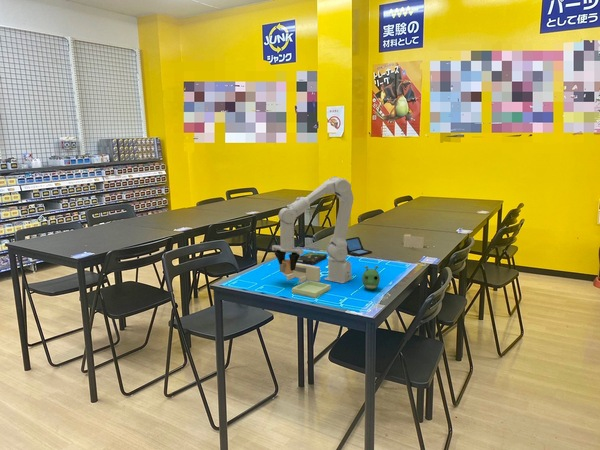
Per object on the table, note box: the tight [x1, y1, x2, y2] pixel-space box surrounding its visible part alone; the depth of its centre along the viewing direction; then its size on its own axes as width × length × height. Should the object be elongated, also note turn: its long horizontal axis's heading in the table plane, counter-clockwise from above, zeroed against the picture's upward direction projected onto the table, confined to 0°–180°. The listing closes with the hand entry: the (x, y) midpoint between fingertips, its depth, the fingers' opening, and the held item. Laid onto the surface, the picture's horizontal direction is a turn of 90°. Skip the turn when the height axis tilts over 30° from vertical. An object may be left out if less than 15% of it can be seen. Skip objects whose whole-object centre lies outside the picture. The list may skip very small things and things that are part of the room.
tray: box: [291, 280, 331, 299], centre depth 180 cm, size 11×12×2 cm
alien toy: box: [361, 265, 381, 290], centre depth 181 cm, size 7×8×10 cm
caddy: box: [279, 258, 294, 274], centre depth 187 cm, size 5×7×5 cm, turn 147°
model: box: [403, 233, 425, 249], centre depth 251 cm, size 3×11×8 cm, turn 73°
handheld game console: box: [346, 236, 373, 257], centre depth 238 cm, size 12×11×7 cm
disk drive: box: [297, 251, 328, 266], centre depth 225 cm, size 10×3×15 cm
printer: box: [282, 263, 321, 284], centre depth 195 cm, size 18×7×6 cm, turn 57°
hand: (287, 269), depth 188 cm, fingers closed on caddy, 5 cm apart
